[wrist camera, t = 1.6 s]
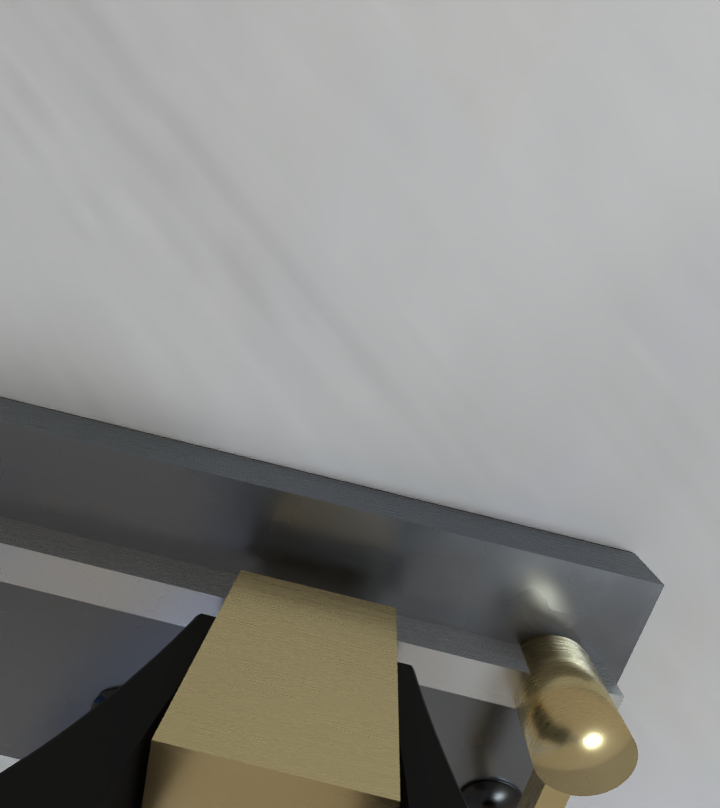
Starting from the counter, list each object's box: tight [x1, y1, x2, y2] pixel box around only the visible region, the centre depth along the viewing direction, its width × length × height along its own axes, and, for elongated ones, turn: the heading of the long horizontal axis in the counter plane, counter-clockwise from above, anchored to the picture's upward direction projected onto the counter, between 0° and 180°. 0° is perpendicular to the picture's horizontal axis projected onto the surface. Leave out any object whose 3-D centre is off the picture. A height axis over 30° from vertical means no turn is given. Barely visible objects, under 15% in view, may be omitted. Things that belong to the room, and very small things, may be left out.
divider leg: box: [141, 570, 400, 808], centre depth 11 cm, size 8×4×5 cm, turn 167°
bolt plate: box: [0, 397, 664, 808], centre depth 13 cm, size 12×20×4 cm, turn 77°
